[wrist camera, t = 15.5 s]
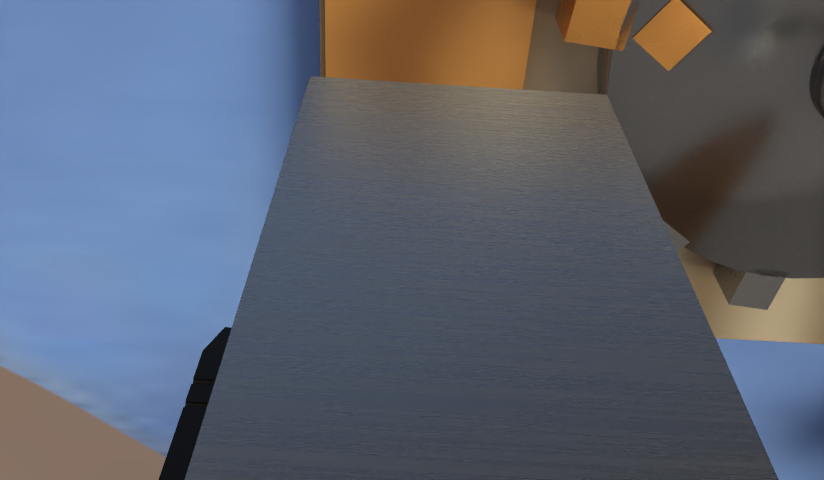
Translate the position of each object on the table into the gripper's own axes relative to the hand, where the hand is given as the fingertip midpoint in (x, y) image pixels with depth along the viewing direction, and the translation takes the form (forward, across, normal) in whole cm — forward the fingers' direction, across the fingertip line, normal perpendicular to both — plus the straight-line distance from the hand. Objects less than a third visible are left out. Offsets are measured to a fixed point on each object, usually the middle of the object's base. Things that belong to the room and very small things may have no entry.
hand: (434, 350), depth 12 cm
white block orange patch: (+1, 0, 0) cm, 1 cm away
